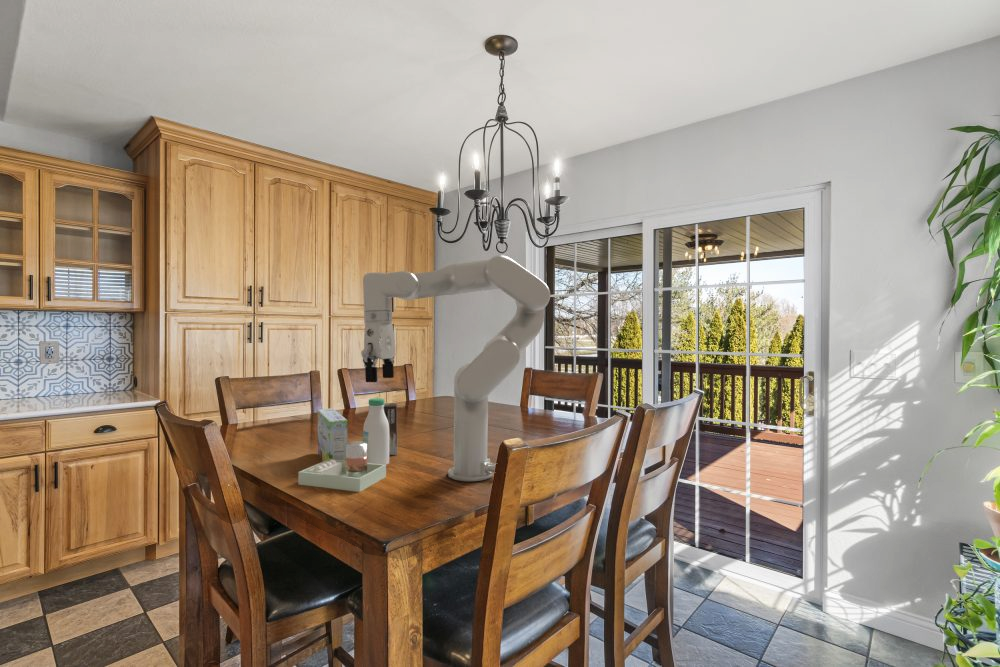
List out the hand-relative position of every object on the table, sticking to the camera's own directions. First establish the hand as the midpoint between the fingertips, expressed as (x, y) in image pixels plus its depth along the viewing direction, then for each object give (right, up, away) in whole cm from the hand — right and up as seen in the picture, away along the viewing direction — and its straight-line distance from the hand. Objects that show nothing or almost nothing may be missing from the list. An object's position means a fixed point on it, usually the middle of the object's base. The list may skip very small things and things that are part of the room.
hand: (380, 379), depth 136 cm
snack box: (-18, -27, +14) cm, 35 cm away
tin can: (-5, -26, -6) cm, 27 cm away
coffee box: (-5, -27, +26) cm, 38 cm away
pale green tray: (-9, -27, -5) cm, 29 cm away
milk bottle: (-4, -27, +12) cm, 30 cm away
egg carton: (-14, -26, -4) cm, 30 cm away
